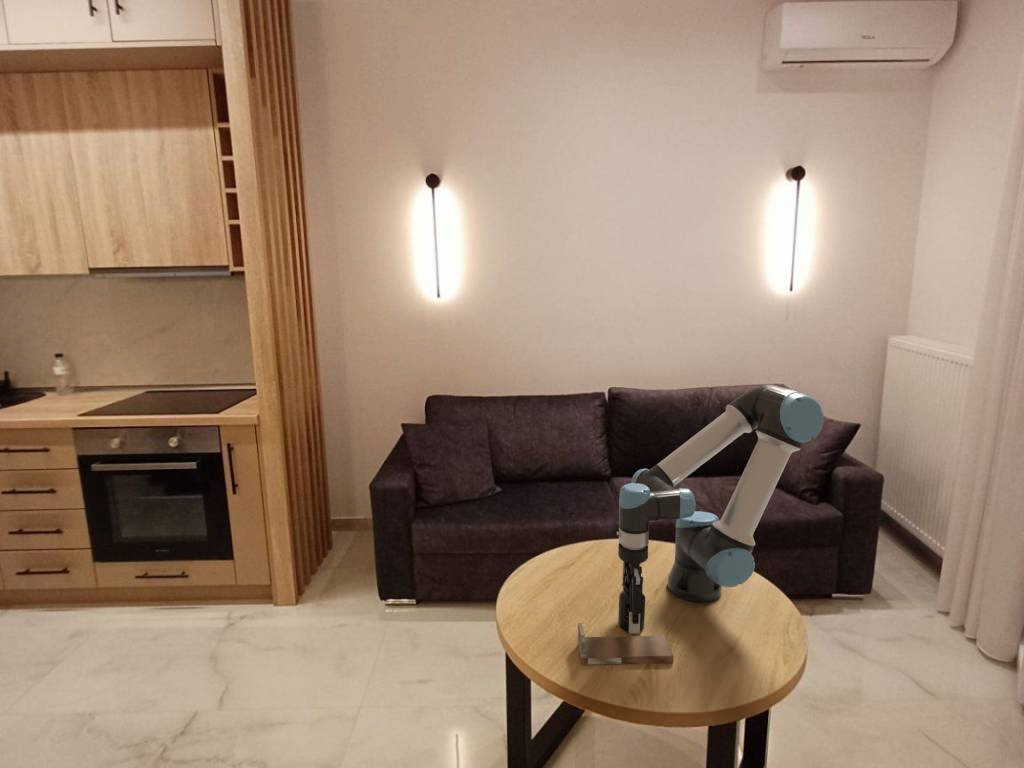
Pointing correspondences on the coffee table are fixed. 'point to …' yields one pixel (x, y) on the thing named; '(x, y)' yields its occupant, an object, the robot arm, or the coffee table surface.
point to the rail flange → (623, 649)
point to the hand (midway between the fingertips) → (631, 624)
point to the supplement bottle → (625, 605)
